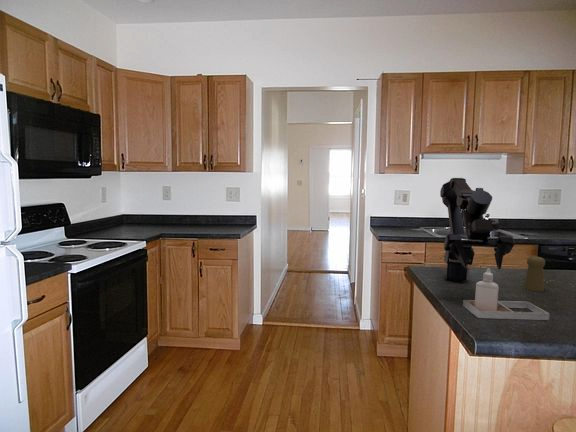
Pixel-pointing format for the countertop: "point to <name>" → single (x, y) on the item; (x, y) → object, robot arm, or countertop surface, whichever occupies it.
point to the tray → (508, 311)
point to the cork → (534, 274)
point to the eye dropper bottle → (486, 293)
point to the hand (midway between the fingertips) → (482, 268)
